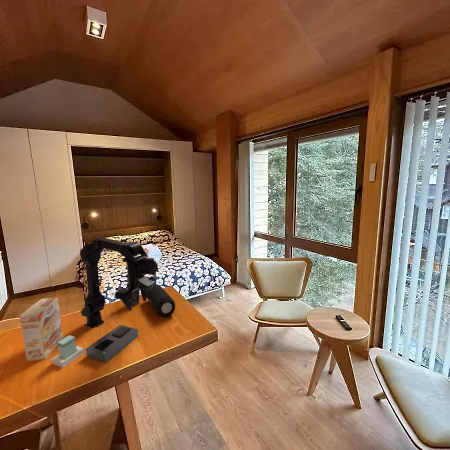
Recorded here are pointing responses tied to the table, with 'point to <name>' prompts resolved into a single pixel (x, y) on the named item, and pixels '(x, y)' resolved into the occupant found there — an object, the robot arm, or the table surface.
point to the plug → (67, 347)
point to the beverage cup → (135, 296)
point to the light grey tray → (62, 362)
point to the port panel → (111, 343)
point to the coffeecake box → (41, 328)
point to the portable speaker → (161, 301)
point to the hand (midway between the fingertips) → (137, 305)
